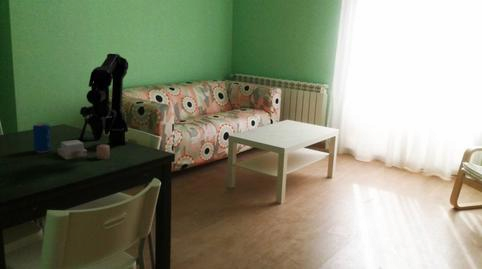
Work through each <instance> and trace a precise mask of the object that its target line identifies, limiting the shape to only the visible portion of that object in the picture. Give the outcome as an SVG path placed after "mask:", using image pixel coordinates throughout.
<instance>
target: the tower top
mask: <svg viewBox="0 0 482 269" xmlns="http://www.w3.org/2000/svg"><path fill="white" fill-rule="evenodd" d="M84 144H85V143H84V142H82V141H79V139H73V140H72V139H71V140H64V141H60V148H61V149H63V150H64V151H66V152H67V153H69V152H75V151H82V150H84V149H85V145H84Z"/></svg>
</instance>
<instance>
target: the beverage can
mask: <svg viewBox="0 0 482 269" xmlns="http://www.w3.org/2000/svg"><path fill="white" fill-rule="evenodd" d="M32 131H33V132H32V133H33V146H34V147H33V148H34V151H35V152H36V153H39V154H43V153H49V151H50V150H51V149H52V146H51V145H52V143H51V128H50V125H49V123H48V122H36V123H34V124H33V126H32Z"/></svg>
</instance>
